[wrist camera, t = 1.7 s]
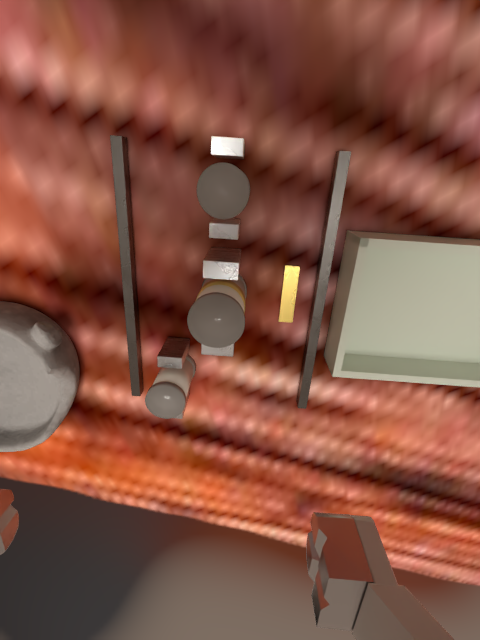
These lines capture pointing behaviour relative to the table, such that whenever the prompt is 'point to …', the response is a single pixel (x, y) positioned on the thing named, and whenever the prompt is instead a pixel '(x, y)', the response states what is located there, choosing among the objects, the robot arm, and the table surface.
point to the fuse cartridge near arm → (223, 190)
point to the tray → (407, 310)
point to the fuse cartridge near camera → (170, 390)
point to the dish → (33, 376)
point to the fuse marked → (218, 312)
